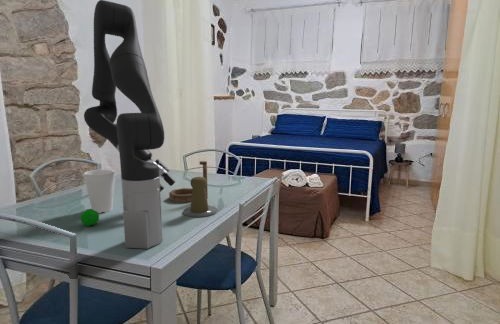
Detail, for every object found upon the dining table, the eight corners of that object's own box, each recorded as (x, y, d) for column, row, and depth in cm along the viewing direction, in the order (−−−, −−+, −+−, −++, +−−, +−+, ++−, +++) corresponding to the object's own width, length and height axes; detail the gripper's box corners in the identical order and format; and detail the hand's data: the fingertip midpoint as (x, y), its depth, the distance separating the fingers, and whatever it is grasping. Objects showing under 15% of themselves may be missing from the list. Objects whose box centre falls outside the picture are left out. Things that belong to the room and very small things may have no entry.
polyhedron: (78, 225, 107) (77, 209, 106) (95, 221, 110) (94, 206, 109) (85, 229, 103) (83, 213, 102) (102, 225, 106) (101, 209, 106)
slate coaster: (213, 217, 112) (213, 216, 112) (178, 216, 114) (178, 214, 114) (220, 207, 123) (220, 205, 123) (189, 206, 125) (188, 204, 124)
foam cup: (88, 207, 123) (85, 170, 121) (117, 204, 127) (114, 168, 124) (86, 216, 115) (83, 176, 112) (117, 212, 118) (114, 173, 116)
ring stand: (203, 203, 128) (202, 164, 126) (166, 201, 130) (164, 163, 127) (210, 195, 138) (209, 159, 136) (175, 194, 140) (174, 158, 138)
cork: (205, 213, 115) (204, 179, 113) (187, 212, 116) (186, 179, 114) (211, 207, 121) (210, 175, 119) (193, 206, 122) (192, 175, 120)
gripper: (129, 147, 112) (165, 184, 112) (151, 141, 126) (183, 175, 125) (115, 163, 114) (150, 200, 114) (138, 156, 128) (169, 189, 127)
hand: (167, 187), depth 120 cm, fingers open, 8 cm apart
